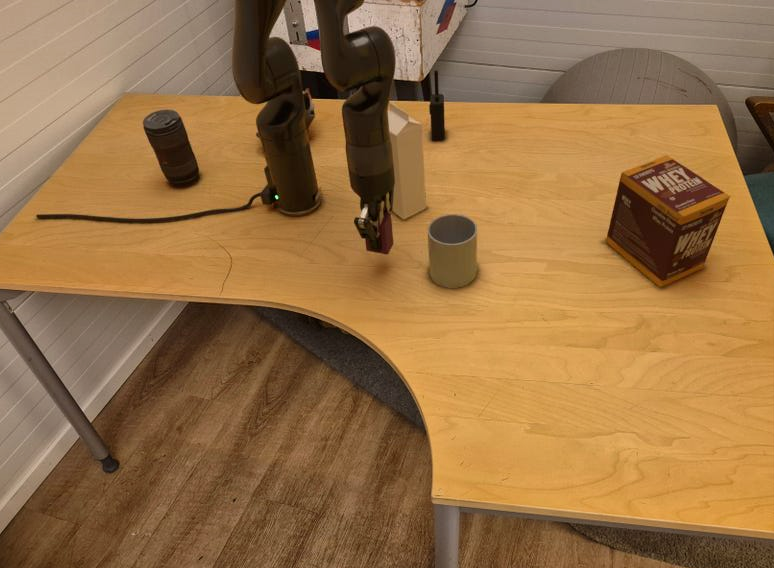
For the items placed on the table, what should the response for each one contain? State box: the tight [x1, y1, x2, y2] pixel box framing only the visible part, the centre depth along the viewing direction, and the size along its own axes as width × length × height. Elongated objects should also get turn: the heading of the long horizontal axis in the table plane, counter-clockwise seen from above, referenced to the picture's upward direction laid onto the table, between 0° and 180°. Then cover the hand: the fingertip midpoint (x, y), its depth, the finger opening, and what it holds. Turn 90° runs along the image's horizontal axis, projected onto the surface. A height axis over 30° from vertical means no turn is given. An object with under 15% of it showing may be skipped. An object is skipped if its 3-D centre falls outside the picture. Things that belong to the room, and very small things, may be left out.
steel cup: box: [427, 213, 478, 289], centre depth 114 cm, size 9×9×10 cm
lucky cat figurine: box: [255, 87, 316, 139], centre depth 149 cm, size 15×12×14 cm
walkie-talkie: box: [428, 70, 446, 142], centre depth 144 cm, size 5×3×15 cm
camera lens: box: [142, 109, 200, 189], centre depth 138 cm, size 8×8×15 cm
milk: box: [388, 101, 427, 221], centre depth 124 cm, size 6×6×22 cm
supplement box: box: [605, 155, 731, 288], centre depth 112 cm, size 10×15×16 cm
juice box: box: [364, 212, 395, 256], centre depth 113 cm, size 4×3×9 cm
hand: (379, 243), depth 116 cm, fingers closed on juice box, 3 cm apart
